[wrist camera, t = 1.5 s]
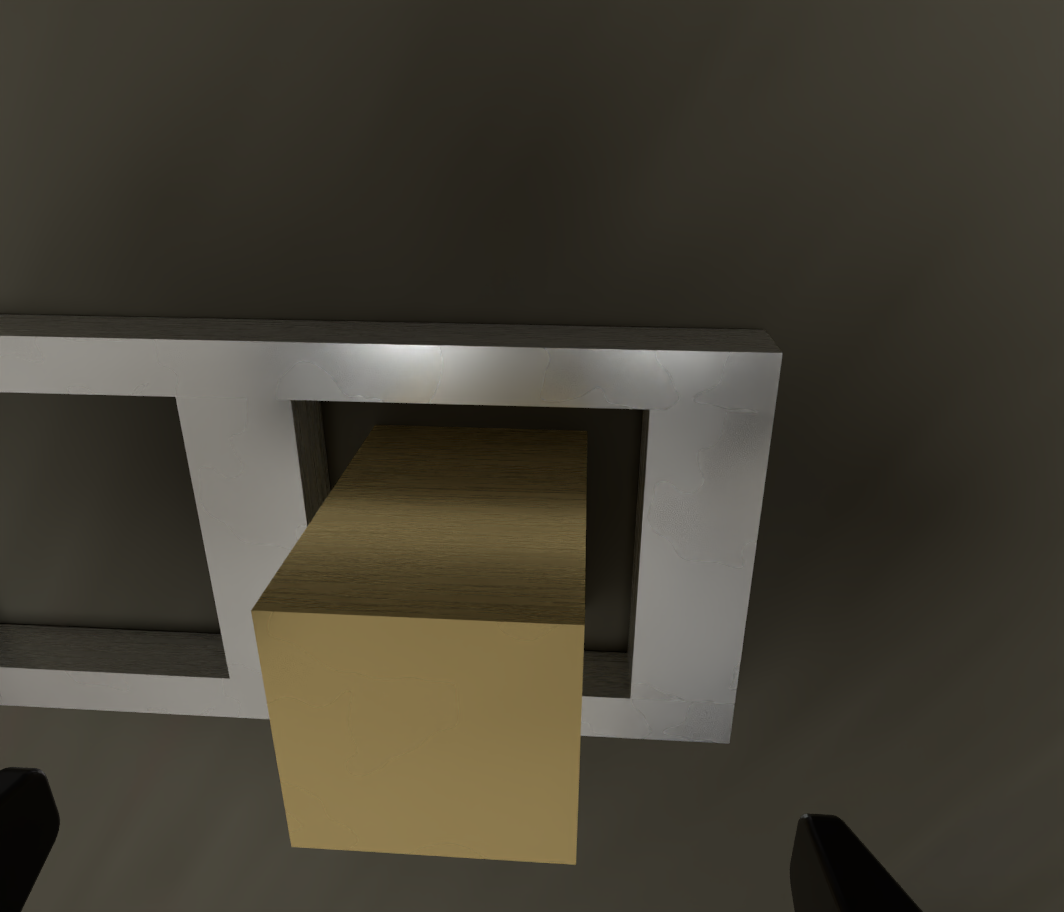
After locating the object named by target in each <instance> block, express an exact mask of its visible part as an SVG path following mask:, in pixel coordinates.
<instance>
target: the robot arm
mask: <svg viewBox="0 0 1064 912" xmlns="http://www.w3.org/2000/svg"><path fill="white" fill-rule="evenodd" d="M59 825H60V817H59V813H58V810H57V807H56V804H55V800H54V797H53V794H52V791H51V788H50V785H49V782H48V779H47V777H46V775H45V773H44V772H43V771H41V770H40V769H37V768H22V767H9V768H5V769H2V770H0V912H21V911H22V908H23V906H24V904H25V902H26V900H27V898H28V896H29V894H30V892H31V890H32V888H33V886H34V884H35V882H36V880H37V877H38V875H39V873H40V871H41V869H42V867H43V865H44V863H45V861H46V859H47V857H48V855H49V853H50V851H51V848H52V846H53V844H54V842H55V840H56V837H57V834H58V831H59ZM790 882H791V890H792V896H793V903H794V909H795V912H923V911H922V910H921V909H920V908H919V907H918V906H917V905H916V903H915V902H914V901H913V900H912V899H911V898H910V897H909V895H908V894H907V893H906V892H905V891H904V890H903V889H902V888H901V886H900V885H899V884H898V883H897V882H896V881H895V880H894V878H893V877H892V876H891V875H890V874H889V873H888V872H887V870H886V869H885V868H884V867H883V866H882V865H881V864H880V862H879V861H878V860H877V859H876V858H875V857H874V856H873V854H872V853H871V852H870V851H869V850H868V849H867V848H866V846H865V845H864V844H863V843H862V842H861V841H860V840H859V838H858V837H857V836H856V835H855V834H854V833H853V832H852V830H851V829H850V828H849V827H848V826H847V825H846V824H845V822H844V821H843V820H841V819H840V818H839V817H837V816H834V815H823V814H803V815H802V816H801V817H800V819H799V821H798V826H797V831H796V836H795V841H794V847H793V852H792V857H791V863H790Z"/></svg>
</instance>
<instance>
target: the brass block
mask: <svg viewBox="0 0 1064 912" xmlns="http://www.w3.org/2000/svg"><path fill="white" fill-rule="evenodd" d="M586 492H587V431H571V430H537V429H503V428H469V427H434V426H400V425H375V426H374V428H373V429H372V431H371V432H370V434H369V435H368V437H367V438H366V440H365V441H364V443H363V444H362V446H361V447H360V449H359V450H358V452H357V453H356V455H355V456H354V458H353V459H352V461H351V462H350V464H349V465H348V467H347V468H346V470H345V471H344V473H343V474H342V476H341V477H340V479H339V480H338V482H337V483H336V485H335V486H334V488H333V489H332V491H331V492H330V494H329V495H328V496H327V498H326V499H325V501H324V502H323V504H322V505H321V507H320V508H319V510H318V511H317V513H316V514H315V516H314V517H313V519H312V520H311V522H310V523H309V525H308V526H307V528H306V529H305V531H304V532H303V534H302V535H301V537H300V538H299V540H298V541H297V543H296V544H295V546H294V547H293V549H292V550H291V552H290V553H289V555H288V556H287V558H286V559H285V561H284V562H283V564H282V565H281V567H280V568H279V569H278V571H277V572H276V574H275V575H274V577H273V578H272V580H271V581H270V583H269V584H268V586H267V587H266V589H265V590H264V592H263V593H262V595H261V596H260V598H259V599H258V601H257V602H256V604H255V605H254V607H253V608H252V610H251V614H252V620H253V625H254V631H255V637H256V643H257V649H258V654H259V660H260V666H261V672H262V678H263V683H264V689H265V695H266V701H267V707H268V712H269V718H270V724H271V730H272V736H273V742H274V747H275V753H276V759H277V765H278V771H279V776H280V782H281V788H282V794H283V800H284V805H285V811H286V817H287V823H288V829H289V834H290V840H291V846H292V847H303V848H319V849H335V850H351V851H367V852H383V853H399V854H414V855H430V856H446V857H462V858H478V859H494V860H510V861H525V862H541V863H557V864H573V865H576V848H577V820H578V793H579V766H580V739H581V711H582V684H583V657H584V630H585V564H586Z"/></svg>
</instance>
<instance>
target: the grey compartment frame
mask: <svg viewBox="0 0 1064 912" xmlns="http://www.w3.org/2000/svg"><path fill="white" fill-rule="evenodd" d="M782 354H783V353H782V352H781V350H780V349H779V348H778V346H777V345H776V344H775V342H774V341H773V340H772V339H771V337H770V336H769V335H768V333H767V332H766V331H765V330H751V329H702V328H652V327H603V326H554V325H504V324H455V323H405V322H356V321H307V320H257V319H208V318H159V317H110V316H60V315H11V314H0V392H16V393H53V394H90V395H128V396H165V397H176V402H177V408H178V413H179V418H180V423H181V428H182V433H183V439H184V444H185V449H186V454H187V459H188V465H189V470H190V475H191V480H192V485H193V490H194V496H195V501H196V506H197V511H198V516H199V521H200V527H201V532H202V537H203V542H204V547H205V553H206V558H207V563H208V568H209V573H210V578H211V584H212V589H213V594H214V599H215V604H216V609H217V615H218V620H219V625H220V630H221V634H205V633H184V632H162V631H140V630H119V629H97V628H75V627H54V626H32V625H10V624H0V705H12V706H30V707H49V708H68V709H87V710H106V711H125V712H144V713H162V714H181V715H200V716H219V717H238V718H257V719H270V718H269V712H268V707H267V701H266V695H265V689H264V683H263V678H262V672H261V666H260V660H259V654H258V649H257V643H256V637H255V631H254V625H253V620H252V614H251V610H252V608H253V607H254V605H255V604H256V602H257V601H258V599H259V598H260V596H261V595H262V593H263V592H264V590H265V589H266V587H267V586H268V584H269V583H270V581H271V580H272V578H273V577H274V575H275V574H276V572H277V571H278V569H279V568H280V567H281V565H282V564H283V562H284V561H285V559H286V558H287V556H288V555H289V553H290V552H291V550H292V549H293V547H294V546H295V544H296V543H297V541H298V540H299V538H300V537H301V535H302V534H303V532H304V531H305V529H306V528H307V526H308V525H309V523H310V522H311V520H312V519H313V517H314V516H315V514H316V513H317V511H318V510H319V508H320V507H321V505H322V504H323V502H324V501H325V499H326V498H327V496H328V495H329V494H330V492H331V491H330V482H329V473H328V464H327V456H326V447H325V438H324V429H323V421H322V412H321V403H320V401H352V402H389V403H426V404H463V405H501V406H538V407H575V408H613V409H643V418H642V434H641V449H640V465H639V481H638V496H637V512H636V527H635V543H634V559H633V574H632V590H631V606H630V621H629V637H628V653H616V652H595V651H584V657H583V684H582V711H581V736H596V737H615V738H634V739H653V740H672V741H691V742H710V743H729V742H730V734H731V727H732V720H733V713H734V705H735V698H736V691H737V683H738V676H739V669H740V661H741V654H742V647H743V639H744V632H745V625H746V617H747V610H748V603H749V595H750V588H751V581H752V574H753V566H754V559H755V552H756V544H757V537H758V530H759V522H760V515H761V508H762V500H763V493H764V486H765V478H766V471H767V464H768V457H769V449H770V442H771V435H772V427H773V420H774V413H775V405H776V398H777V391H778V383H779V376H780V369H781V361H782Z"/></svg>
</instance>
